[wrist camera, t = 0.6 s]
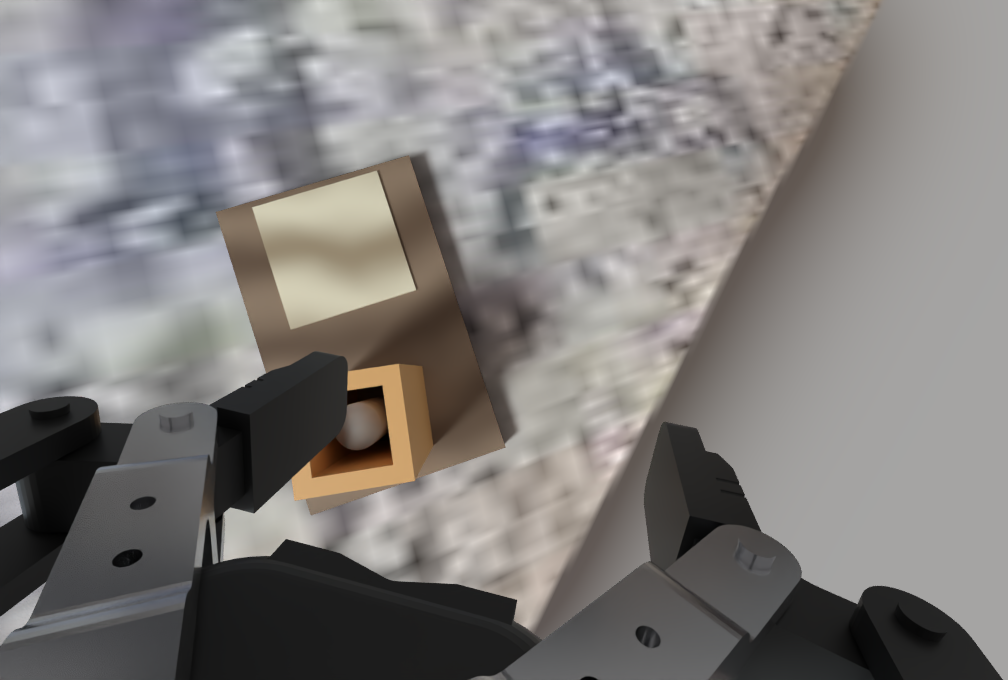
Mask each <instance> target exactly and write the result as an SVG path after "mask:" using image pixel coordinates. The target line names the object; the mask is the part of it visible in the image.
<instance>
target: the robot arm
mask: <svg viewBox="0 0 1008 680" xmlns="http://www.w3.org/2000/svg"><path fill="white" fill-rule="evenodd" d="M347 385H348V363H347V360H346V358H345V357H344V356H339V355H334V354H329V353H324V352H319V351H314V352H312V353H310V354H309V355H307V356H305V357H303V358H302V359H300V360H298V361H296V362H295V363H293V364H291V365H289V366H285V367H282V368H278V369H274V370H271V371H270V372H268V373H266V374H264V375H262V376H261V377H259V378H257V380H253V381H252V382H250V383H248V384H246V385H245V387H241V388H239V389H237V390H236V391H234V392H232V393H230V394H228V395H227V396H225V397H223V398H221V399H219V400H218V401H216V402H214V403H212V404H210V405H207V404H203V403H195V402H181V403H173V404H167V405H163V406H159V407H156V408H153V409H150V410H148V411H146V412H144V413H142V414H141V415H140V416H138V417H137V418H136V419H135V421H134V423H133V424H123V423H100V417H99V411H98V405H97V403H96V402H95V401H94V400H91V399H89V398H85V397H75V396H65V397H54V398H47V399H41V400H37V401H33V402H29V403H26V404H23V405H20V406H18V407H15V408H13V409H10V410H8V411H5V412H3V413H0V490H2V489H4V488H6V487H8V486H10V485H12V484H13V483H16V487H17V491H18V496H19V500H20V504H21V509H22V513H23V514H22V515H20V516H18V517H17V518H15V519H13V520H12V521H10V522H8V523H7V524H5V525H4V526H2V527H0V616H2V615H3V614H4V613H6V612H7V611H8V610H9V609H11V608H12V607H13V606H15V605H16V604H17V603H19V602H20V601H21V600H23V599H24V598H25V597H27V596H28V595H29V594H31V593H32V592H33V591H34V590H36V589H37V588H38V587H40V586H41V585H42V584H44V583H45V582H46V581H47V582H46V584H45V586H44V588H43V590H42V593H41V595H40V597H39V599H38V602H37V604H36V606H35V608H34V611H33V613H32V615H31V617H30V619H29V621H28V622H27V624H26V625H25V626H24V627H22V628H19V629H16V630H14V631H13V632H11V633H10V634H9V636H8V637H7V638H6V639H5V641H4V642H3V644H2V645H1V646H0V680H1003V679H1002V678H1001V677H1000V675H999V674H998V673H997V671H996V670H995V669H994V667H993V666H992V665H991V663H990V662H989V661H988V659H987V658H986V657H985V655H984V654H983V652H982V651H981V650H980V648H979V647H978V646H977V644H976V643H975V642H974V640H973V639H972V638H971V637H970V636H969V634H968V633H967V632H966V631H965V630H964V629H963V628H962V627H961V626H960V625H959V624H958V623H957V622H955V621H954V620H953V619H952V618H951V617H949V616H948V615H946V614H945V613H944V612H942V611H941V610H939V609H938V608H936V607H935V606H933V605H931V604H930V603H928V602H926V601H924V600H923V599H920V598H918V597H916V596H914V595H912V594H910V593H907V592H905V591H902V590H899V589H895V588H890V587H886V586H873V587H869V588H867V589H866V590H865V591H864V592H863V594H862V596H861V598H860V600H859V602H858V604H856V603H853V602H851V601H849V600H847V599H844V598H842V597H840V596H837V595H835V594H832V593H830V592H828V591H826V590H824V589H821V588H819V587H817V586H815V585H813V584H811V583H809V582H807V581H806V580H804V579H802V578H801V574H802V571H801V567H800V565H799V563H798V561H797V559H796V558H795V557H794V555H793V554H792V553H791V552H790V551H789V550H788V549H787V548H786V547H785V546H783V545H782V544H781V543H779V542H778V541H776V540H775V539H773V538H772V537H770V536H768V535H766V534H764V533H762V532H761V530H760V528H759V526H758V523H757V521H756V519H755V516H754V514H753V512H752V510H751V508H750V505H749V503H748V501H747V499H746V498H744V495H745V494H744V492H743V490H742V488H741V486H740V485H739V481H738V479H737V476H736V475H735V472H734V470H733V468H732V467H731V466H730V465H729V464H728V463H727V462H726V461H725V460H724V459H723V458H722V457H721V456H719V455H718V454H716V453H712V452H707V451H705V448H704V446H703V443H702V440H701V437H700V435H699V432H698V430H697V429H696V428H692V427H687V426H683V425H677V424H673V423H668V422H663V424H662V425H661V428H660V431H659V434H658V438H657V442H656V446H655V449H654V453H653V457H652V461H651V465H650V469H649V473H648V476H647V480H646V486H645V493H644V508H645V516H646V525H647V533H648V541H649V550H650V558H651V561H649V562H646V563H644V564H642V565H641V566H639V567H638V568H636V569H635V570H634V571H633V572H631V573H630V574H629V575H627V576H626V577H625V578H623V579H622V580H621V581H619V582H618V583H617V584H616V585H614V586H613V587H612V588H610V589H609V590H608V591H607V592H605V593H604V594H603V595H601V596H600V597H599V598H597V599H596V600H595V601H593V602H592V603H591V604H589V605H588V606H587V607H586V608H584V609H583V610H582V611H580V612H579V613H578V614H576V615H575V616H574V617H572V618H571V619H570V620H568V621H567V622H566V623H565V624H563V625H562V626H561V627H559V628H558V629H557V630H555V631H554V632H553V633H552V634H550V635H549V636H548V637H546V638H545V639H544V640H541V639H540V638H539V637H538V636H536V635H535V634H534V633H532V632H531V631H529V630H528V629H526V628H525V627H523V626H522V625H520V624H518V623H516V622H515V621H514V615H515V609H516V604H517V600H515V599H511V598H507V597H504V596H500V595H496V594H492V593H489V592H485V591H481V590H477V589H473V588H470V587H466V586H462V585H458V584H441V583H420V582H399V581H392V580H388V579H386V578H384V577H382V576H380V575H379V574H377V573H375V572H373V571H371V570H369V569H368V568H366V567H364V566H362V565H360V564H359V563H357V562H355V561H353V560H351V559H349V558H348V557H346V556H344V555H342V554H340V553H337V552H333V551H329V550H326V549H322V548H318V547H314V546H310V545H307V544H303V543H299V542H295V541H291V540H288V539H286V540H285V541H284V542H283V543H282V544H281V545H280V546H279V547H278V549H277V550H276V551H275V552H274V553H273V554H272V555H271V556H257V557H245V558H238V559H232V560H228V561H223V552H224V534H225V518H224V512H225V511H226V510H228V509H229V508H230V507H231V508H235V509H239V510H243V511H247V512H251V513H255V512H256V511H257V510H258V509H259V508H260V507H261V506H263V505H264V504H265V503H266V502H267V501H268V500H269V499H270V498H271V497H272V496H273V495H274V494H275V493H276V492H277V491H279V490H280V489H281V488H282V487H283V486H284V485H285V484H286V483H287V482H288V481H289V480H290V479H291V478H292V477H293V476H295V475H296V474H297V473H298V472H299V471H300V470H301V469H302V468H303V467H304V466H305V465H306V464H307V463H308V462H310V461H311V460H312V459H313V458H314V457H315V456H316V455H317V454H318V453H319V452H320V451H321V450H322V449H323V448H324V447H326V446H327V445H328V444H329V443H330V442H331V441H332V440H333V439H334V438H335V437H336V436H337V435H338V434H339V433H340V431H341V429H342V427H343V425H344V422H345V419H346V414H347Z"/></svg>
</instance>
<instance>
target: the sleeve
mask: <svg viewBox="0 0 1008 680" xmlns="http://www.w3.org/2000/svg"><path fill="white" fill-rule="evenodd" d="M381 385H383V393H384V400H385V408H386V415H387V422H388V430H389V437H390V439H389V440H383V441H376V442H375V443H374V444H372V445H371V446H369V447H368V448H365V449H362V450H351V449H348V448H346V447H344V446H343V445H341V444H340V443H339V441H338V440H337V438H336V437H335V438H334V439H333V440H332V441H331V442H330V443H329V444H328V445H327V446H326V447H324V448H323V449H322V450H321V451H320V452H319V453H318V454H317V455H316V456H315V457H314V458H313V459H312V460H311V461H310V462H308V463H307V464H306V465H305V466H304V467H303V468H302V469H301V470H300V471H299V472H298V473H297V474H296V475H295V476H293V477H292V484H293V492H294V500H295V501H296V500H302V499H308V498H314V497H320V496H326V495H332V494H338V493H344V492H350V491H357V490H363V489H369V488H375V487H381V486H387V485H393V484H399V483H405V482H411V481H415V480H416V478H417V476H418V474H419V472H420V470H421V468H422V466H423V465H424V463H425V461H426V459H427V457H428V455H429V453H430V451H431V449H432V447H433V439H432V432H431V425H430V418H429V411H428V404H427V396H426V389H425V382H424V375H423V368H422V366H416V365H406V364H394V365H387V366H381V367H374V368H367V369H360V370H353V371H348V385H347V405H349V404H353V403H356V402H358V397H357V389H361V388H368V387H374V386H381Z"/></svg>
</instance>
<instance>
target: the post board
mask: <svg viewBox="0 0 1008 680" xmlns="http://www.w3.org/2000/svg"><path fill="white" fill-rule="evenodd" d="M216 214H217V218H218V221H219V224H220V227H221V230H222V233H223V237H224V240H225V243H226V246H227V249H228V253H229V256H230V259H231V262H232V265H233V269H234V272H235V275H236V278H237V281H238V285H239V288H240V291H241V294H242V297H243V300H244V304H245V307H246V310H247V313H248V316H249V320H250V323H251V326H252V329H253V332H254V336H255V339H256V342H257V345H258V348H259V352H260V355H261V358H262V361H263V364H264V367H265V371H266V373H268V372H270V371H271V370H274V369H278V368H282V367H285V366H289V365H291V364H293V363H295V362H296V361H298V360H300V359H302V358H303V357H305V356H307V355H309V354H310V353H312V352H314V351H319V352H324V353H329V354H334V355H339V356H344V357H345V358H346V360H347V363H348V371H353V370H360V369H367V368H374V367H381V366H387V365H394V364H406V365H416V366H422V368H423V375H424V382H425V389H426V396H427V404H428V411H429V418H430V425H431V432H432V439H433V447H432V449H431V451H430V453H429V455H428V457H427V459H426V461H425V463H424V465H423V466H422V468H421V470H420V472H419V474H418V476H417V478H419V477H422V476H425V475H428V474H431V473H434V472H436V471H439V470H442V469H445V468H448V467H451V466H454V465H456V464H459V463H462V462H465V461H468V460H471V459H474V458H477V457H479V456H482V455H485V454H488V453H491V452H494V451H497V450H499V449H502V448H505V444H504V441H503V438H502V435H501V432H500V429H499V426H498V423H497V420H496V417H495V414H494V411H493V408H492V405H491V402H490V399H489V396H488V393H487V390H486V387H485V384H484V381H483V378H482V375H481V372H480V369H479V366H478V363H477V360H476V357H475V353H474V350H473V347H472V344H471V341H470V338H469V335H468V332H467V329H466V326H465V323H464V320H463V317H462V314H461V311H460V308H459V305H458V302H457V299H456V296H455V293H454V290H453V287H452V284H451V281H450V278H449V275H448V272H447V269H446V266H445V263H444V260H443V257H442V254H441V251H440V248H439V245H438V242H437V239H436V236H435V233H434V230H433V227H432V224H431V221H430V218H429V215H428V212H427V209H426V206H425V203H424V200H423V197H422V194H421V191H420V188H419V185H418V182H417V179H416V176H415V172H414V169H413V166H412V163H411V160H410V157H409V155H408V156H405V157H402V158H398V159H395V160H391V161H388V162H385V163H381V164H378V165H374V166H371V167H368V168H364V169H361V170H357V171H354V172H351V173H347V174H344V175H340V176H337V177H334V178H330V179H327V180H323V181H320V182H317V183H313V184H310V185H306V186H303V187H300V188H296V189H293V190H289V191H286V192H283V193H279V194H276V195H272V196H269V197H266V198H262V199H259V200H255V201H252V202H249V203H245V204H242V205H238V206H235V207H232V208H228V209H225V210H221V211H218V212H216ZM357 397H358V402H356V403H353V404H349V405H347V414H346V419H345V422H344V425H343V427H342V429H341V431H340V433H339V434H338V435H337V436H336V438H337V440H338V441H339V443H340V444H341V445H343V446H344V447H346V448H348V449H351V450H362V449H365V448H368V447H369V446H371V445H372V444H374V443H375V442H376V441H383V440H389V439H390V437H389V430H388V422H387V415H386V408H385V400H384V393H383V385H381V386H374V387H368V388H361V389H357ZM399 484H402V483H399ZM399 484H393V485H387V486H381V487H375V488H369V489H363V490H357V491H350V492H344V493H338V494H332V495H326V496H320V497H314V498H308V499H306V501H307V505H308V508H309V511H310V514H311V515H313V514H316V513H319V512H322V511H325V510H328V509H331V508H333V507H336V506H339V505H342V504H345V503H348V502H351V501H353V500H356V499H359V498H362V497H365V496H368V495H371V494H374V493H376V492H379V491H382V490H385V489H388V488H391V487H394V486H396V485H399Z"/></svg>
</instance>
